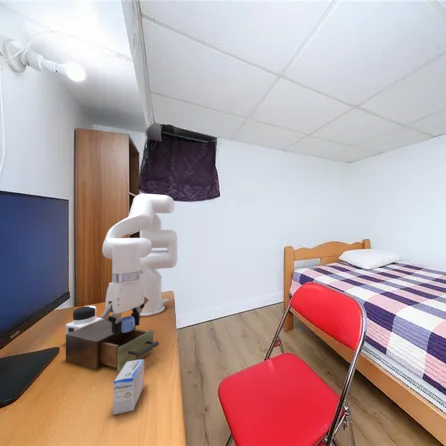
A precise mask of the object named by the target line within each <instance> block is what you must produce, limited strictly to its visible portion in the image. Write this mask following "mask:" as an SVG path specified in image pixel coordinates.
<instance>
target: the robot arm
mask: <svg viewBox="0 0 446 446" xmlns="http://www.w3.org/2000/svg"><path fill="white" fill-rule="evenodd" d="M175 205H176V204H175V201H174V199H173V197H171V196H170V195H166V194H154V193H140V194H137V195H136V196H134V198H133V199H132V203H131V206H130V211H129V213H128V216H127V217H125V218H124V219H122V220H120V221H118V222H117V223H115V224H114V225H113V226H111V227H110V228H109V229H108V231H107V233H106V235H105V238H104V240H103V243H102V247H101V251H102V252H101V253H102V255H103V257H105V258H106V259H109V260H111V261H112V262H111V263H112V265H111V266H112V267H111V268H112V269H111V282H109V283H108V286H107V289H106V295H105V302H104V303H105V304H104V310H103V311H102V313H101V314H100V316H99V318H103V320H104V319H106V320H108V321H110V322H112V333H113V334H117V335H119V334H121V326H122V323H121V322H119V321H120V319H121V318H122V315H123V313H125V312H128V311H130V310H131V311H132V312H131V313H130V316H133V317H134V319H135V326H136V327H138V326H140V319H141V317H150V316H155V315H157V314H160V313H162V312H163V311H164V310H165V309H166V307H165V303H168V302H169V301H170V299H169V298H168V297H167V298H164V299H163V298H162V287H163V286H162V283H163V282H162V274H161V272H159V271H158V270H161V269H173V268H174V267H176V266H177V262H178V234H177V232H176V231H175V230H172V229H162V219H161V218H160V217H159V215H158V214H172V213H173V212H174V211H175ZM139 231H141V233H140V235H141V237H125V236H127V235H129V234H133V233H136V232H139ZM153 249H156V250H153ZM157 249H162V250H157ZM163 249H165V250H163Z"/></svg>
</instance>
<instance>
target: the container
mask: <svg viewBox="0 0 446 446" xmlns="http://www.w3.org/2000/svg"><path fill="white" fill-rule="evenodd" d="M102 320H104V319H103V318H100V316H99V317H98V316H97V306H95V305H84V306H81V307H78V308H76V309H74V310H73V312H72V321H71V322H68V323H67V324H65V335H66V334H68V333H71V332H73V331H76V330H79V329H81V328H84V327H86V326H89V325H91V324H94V323H96V322H99V321H102Z"/></svg>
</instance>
